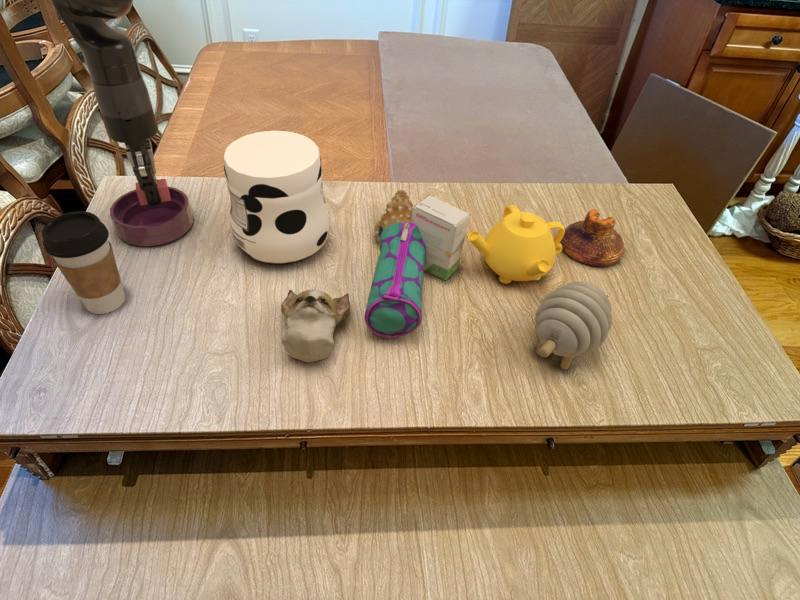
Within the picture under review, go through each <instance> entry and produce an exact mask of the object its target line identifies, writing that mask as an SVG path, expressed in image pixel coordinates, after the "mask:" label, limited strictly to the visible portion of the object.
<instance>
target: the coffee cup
mask: <svg viewBox="0 0 800 600" xmlns="http://www.w3.org/2000/svg"><path fill="white" fill-rule="evenodd" d="M41 236H42V246H43V248H44V251H45V253H47V254H48V255H50V256H51V257H52V258H53V259H52V260H53V262H54V264H55V265H56V267H57V268H58V269H59V271H60V273H61V274H62V276H63V277H64V278H65V280H66V281H67V282H68V284H69V286H70V287H71V289H72V290H73V291H74V293H75V294H76V296H77V297H78V299H79V300H80V301H81V303H82V305H83V306H84V308H85V310H86V311H88V313H91V314H94V315H105V314H108V313H112V312H114V311H116V310H118V309H119V308H120V307H121V306H123V304H124V303H125V301H126V293H125V289H124V286H123V284H122V279H121V275H120V272H119V269H118V265H117V260H116V257H115V253H114V251H113V245H112V243H111V241H110V240H109V237H110V232H109V230H108V228H107V226H106V224H105V223H104V222H102V221H101V220H100V218H99V216H97V215H96V214H95V213H92V212H90V211H84V210H77V211H76V210H75V211H69V212H65V213H62V214H59V215H58V216H55V217H53V218H52V219H50V220H48V221H47V222H46V224H44V226H43V228H42V230H41Z"/></svg>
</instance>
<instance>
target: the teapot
mask: <svg viewBox="0 0 800 600" xmlns="http://www.w3.org/2000/svg"><path fill="white" fill-rule="evenodd" d="M552 229H558V231H557V233H556V235H555V237H554V236H553V233H552V231H551V230H552ZM565 229H566V228H565V226H564V225H563V224H562V223H561V222H559V221H549V222H546V221H545V220H544V219H543V218H542V217H540V216H539V215H537V214H534V213H532V212H527V211H520V209H519V207H518V206H517V205H514V204H509V205H506V206H505V207H504V210H503V215H502V218H501V219H500V220H499V221H497V222H496V223H495V224H494V225H493V226H492V227H491V228H490V229H489V231H488V233H487V235H486V237H485V238H484V237H483V236H482V234H481V233H480V232H479V231H477V230H472V231H470V232H469V233H468V235H467V240H468V242H470V243H471V244H472V245H473V247H475V249H476V250H478V252H479V253H481V255H482V257H483V259H484V262H485V263H486V264H487V266H488V267H489V268H490V269H491V270H492V271H493V272H494V273H495V274H497V275H498V276H499V277H498V281H500V283H502V284H505V285H506V284H507V285H509V284H510V283H511V282H512V281H514V282H530V281H539V280H540V279H541V277H544V276H545V275H547V274H548V273H549V272H550V271H551V270H552V269H553V268H554V264H555V262H556V255H558V254H560V253H561V252H562V251H563V249H562V244H561V239H562V238H563V236H564V233H565Z"/></svg>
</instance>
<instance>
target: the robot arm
mask: <svg viewBox="0 0 800 600" xmlns="http://www.w3.org/2000/svg"><path fill="white" fill-rule="evenodd" d="M50 2H51V4H52V6H53V8H54V10H55V11H56V13H57V15H58V16H59V18H60V19H61V21H62V23H63V24H64V26H65V28H66V29H67V31H68V32H69V34H70V36H71V37H72V39H73V41H74V42H75V44H76V45H77V46H78V48H79V49H80V51H81V53H82V56H83V59H84V62H85V65H86V68H87V71H88V73H89V77H90V79H91V83H92V88H93V93H94V97H95V100H96V103H97V107H98V109H99V111H100V114H101V117H102V121H103V124H104V126H105V129H106V132H107V134H108V136H109V138H110V139H111V140H112V141H114V142H117V143H119V144H124V146H125V150H124V151H125V155H126V159H127V160H128V161H129V163H130V165H131V169H132V172H133V174H134V176H135V178H136V180H137V183H139V185H140V189H141V190H142V191H144V193H145V196H146V199H147V202H148V205H149V206H155V205H160V204H161V198H160V195H159V191H158V188H157V187H158V186H157V184H158V183H157V181H156V180H157V176H156V174H157V168H156V165H155V163H156V162H155V156H154V152H153V144H152V141H151V139H152V138H154V137H155V136H156V135H157V133H158V131H159V126H158V123H157V122H158V121H157V119H156V115H155V112H154V107H153V104H152V101H151V97H150V93H149V89H148V87H147V84H146V82H145V79H144V77H143V74H142V70H141V66H140V63H139V59H138V56H137V52H136V49H135V46H134V44H133V41H132V39H131V38H130V37H129V36H128V35H127V34H125V33H123V32H121V31H119V30H116V29H114V28H112V27H111V26H110V25H108V24H107V22H106V21H105V20H117V19H118V20H119V19H121V18H123V17H125V16H126V15H127V14H128V13H129V12H130V11H131V9H132V7H133V3H134V0H50ZM104 19H105V20H104Z"/></svg>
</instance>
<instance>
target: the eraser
mask: <svg viewBox="0 0 800 600" xmlns="http://www.w3.org/2000/svg"><path fill="white" fill-rule="evenodd" d="M156 181H157V183H158V184H157V186H158V187H157V188H158V191H159V195H160V198H161V202H167V201H171V198H170V193H169V189H168V187H169V186H168V182H167V179H166V178H160V179H156ZM135 189H136V192H137V195H138V198H139V201H140V204H141V205H147V204H148V202H147V199H146V196H145V193H144V191H142V190H141V189H140V185H139V183H138V182H135Z"/></svg>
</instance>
